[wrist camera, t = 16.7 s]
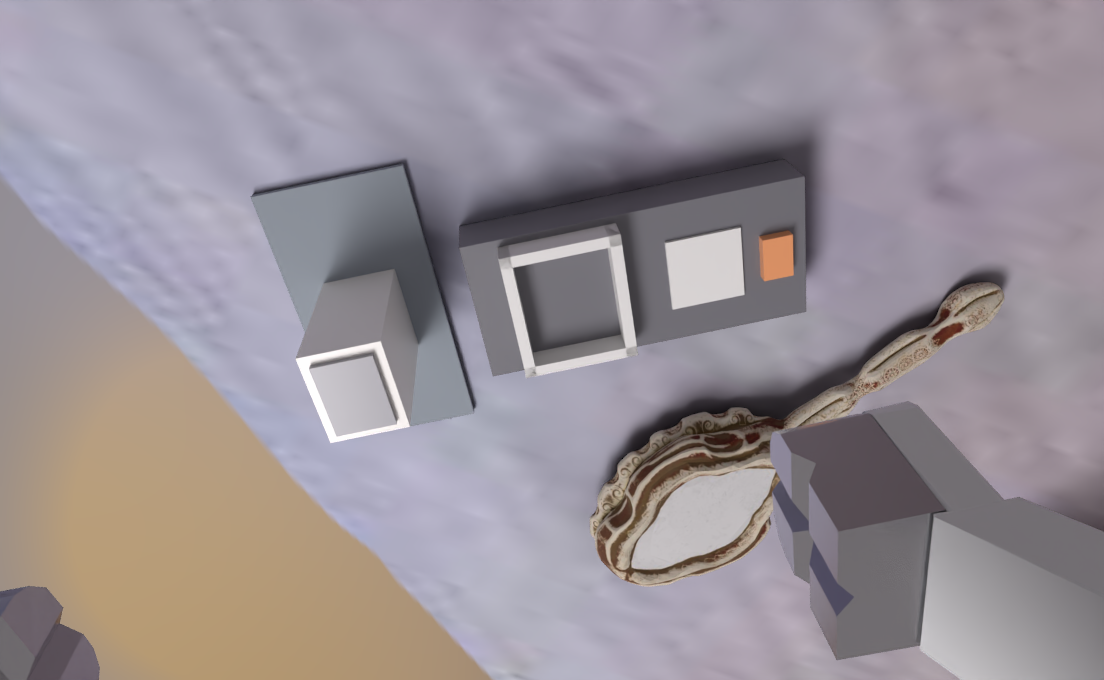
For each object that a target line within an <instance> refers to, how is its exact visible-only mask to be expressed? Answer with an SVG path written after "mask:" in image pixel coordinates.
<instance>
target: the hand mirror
mask: <svg viewBox="0 0 1104 680" xmlns="http://www.w3.org/2000/svg"><path fill="white" fill-rule="evenodd" d="M1003 302H1004V293H1003V291H1002V289H1001V288H1000V287H999V286H998V285H997V284H994V283H990V282H979V283H973V284H968V285H965V286H963V287H960V288H959V289H957V290H956V291H954V292H952V293H951V294H950V295H949V296H948V297H947V298H946V300H945V301H944V302H943V303H942V304H941V306H940V308H939V311H938V313H937V316H936V318H935V319H934V320H933V322H932V323H930V324H929V325H928V326H927V327H926V328H923V329H917V330H911V331H909V332H907V333H905V334H902V335H901V336H899V337H898V338H897V339H895V340H894V341H893V342H891V343H890V344H889V345H887V346H886V347H884V348H883V349H882V350H880V351H879V352H878V353H877V354H875V355H874V356H873V357H872V358H871V359H869V360H868V361H867V362H866V363H865V364H864V366H863V367H862V369H861V370H860V372H859V374H858V375H857V376H855V377H854V378H852V379H851V380H849V381H848V382H846V383H844V384H841V385H838V386H834V387H831V388H829V389H828V390H826V391H824V392H823V393H821V394H820V395H818V396H816V397H815V398H813V399H812V400H810V401H808V402H807V403H805V404H804V405H802V406H800V407H799V408H797V409H795V410H794V411H792V412H791V413H790V414H789V415H788V416H787V417H786V418H785V419H782V420H778V419H774V418H771V417H769V416H766V417H759V416H754V415H752V414H751V412H750V411H749V410H748V409H747V408H740V407H734V408H730V409H728V410H727V411H726V412H724V413H721V414H709V413H707V412H702V413H697V414H693V415H690V416H688V417H685V418H683V419H682V420H681V421H680V422H679V423H678V424H677V425H676V426H674V427H672V428H669V429H666V430H660V431H658V432H656V433H654V434H653V435H652V436H651V437H650V440H649V442H648V443H647V444H646V445H645V446H644V447H643V448H641V449H640V450H637V451H632V452H630V453H628V454H627V455H626V456H625V457H624V458H623V459H622V460H621V461H620V462H619V464H618V468H617V473H616V475H615V476H614V478H613V479H612V480H610V481H608V482H606V483H605V484H604V486H603V488H602V489H601V491H600V493H599V494H598V507H597V509H596V511H595V513H594V514H593V515H592V516H591V517H590V533H591V535H592V536H593V537H594V539H595V546H596V550H597V553H598V556H599V558H600V559H601V561H602V562H603V563H604V564H605V565H606V566H607V567H608V568H609V569H610V570H611V571H612V572H613V573H614V574H615V575H617V576H618V577H619V578H621V579H622V580H625V581H627V582H630V583H633V584H636V585H640V586H647V587H651V586H660V585H668V584H671V583H673V582H676V581H678V580H680V579H683V578H686V577H690V576H699V575H703V574H706V573H709V572H711V571H714V570H717V569H719V568H722V567H724V566H726V565H729V564H731V563H733V562H735V561H737V560H739V559H741V558H742V557H744V556H745V555H747V554H748V553H749V552H750V551H751V550H753V549H754V548H755V547H756V546H757V545H758V544H759V543H760V542H761V541H762V540H763V538H764V537H765V536H766V534H767V532H768V530H769V529H770V525H771V521H770V517H769V516H770V515H771V513H772V511H773V498H772V491H773V489H774V488H775V487H776V485H777V484H778V482H779V481H780V478H779V476H778V474H777V472H776V470H775V468H774V466H773V465H772V463H771V458H770V441H771V436H772V432H775V431H780V430H784V429H789V428H794V427H799V426H803V425H808V424H813V423H817V422H822V421H827V420H831V419H836V418H841V417H845V416H847V415H848V414H849V413H850V412H851V411H852V409H853V408H854V407H855V405H856V404H857V402H858V401H859V399H861V398H862V397H863V396H864V395H866V394H868V393H871V392H875V391H879V390H881V389H883V388H885V387H886V386H888V385H889V384H891V383H892V382H894V381H895V380H897V379H898V378H900V377H901V376H903V375H904V374H906V373H908V372H909V371H911V370H912V369H914V368H916V367H917V366H919V365H921V364H922V363H924V362H925V361H927V360H928V359H929V358H930V357H931V356H932V355H934V354H935V353H936V352H937V351H939V350H940V349H941V348H942V347H943V346H944V345H945V344H946V343H947V342H948V341H950V340H951V339H953V338H955V337H957V336H960V335H962V334H965V333H968V332H972V331H975V330H979V329H982V328H984V327H985V326H986V325H988V324H989V323H990V322H991V320H992V319H993V318H994V317H995V315H996V314H997V313H998V311H999V309H1000V307H1001V305H1002V303H1003Z"/></svg>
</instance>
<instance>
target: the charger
mask: <svg viewBox="0 0 1104 680" xmlns="http://www.w3.org/2000/svg"><path fill="white" fill-rule="evenodd" d="M418 346H419V345H418V342H417V338H416V335H415V332H414V329H413V326H412V323H411V319H410V316H409V313H408V310H407V307H406V304H405V301H404V297H403V294H402V291H401V288H400V285H399V282H398V278H397V275H396V272H395V269H391V270H386V271H381V272H376V273H371V274H367V275H362V276H357V277H352V278H347V279H342V280H338V281H333V282H328V283H323V286H322V289H321V291H320V294H319V297H318V299H317V302H316V305H315V308H314V310H313V313H312V316H311V318H310V321H309V324H308V327H307V329H306V332H305V335H304V337H303V340H302V343H301V346H300V348H299V351H298V354H297V356H296V361H297V363H298V366H299V368H300V370H301V373H302V375H303V378H304V380H305V382H306V385H307V387H308V390H309V392H310V394H311V397H312V399H313V402H314V404H315V406H316V409H317V411H318V414H319V416H320V418H321V421H322V423H323V425H324V428H325V430H326V433H327V435H328V437H329V440H330V442H331V443H333V442H338V441H343V440H348V439H353V438H357V437H362V436H367V435H372V434H377V433H382V432H386V431H391V430H396V429H401V428H406V427H410V422H411V413H412V403H413V394H414V384H415V375H416V365H417V355H418Z"/></svg>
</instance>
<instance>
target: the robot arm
mask: <svg viewBox="0 0 1104 680" xmlns="http://www.w3.org/2000/svg"><path fill="white" fill-rule="evenodd" d="M770 458H771V463H772V465H773V466H774V468H775V470H776V472H777V474H778V476H779V478H780V481H779V482H778V484H777V485H776V487H775V488H774V489H773V491H772V498H773V511H774V518H775V522H776V527H777V531H778V536H779V539H780V542H781V545H782V547H783V550H784V553H785V556H786V558H787V560H788V562H789V564H790V566H791V569H792V571H793V573H794V575H796V576H798V577H799V578H801V579H803V580H804V581H806V582H808V583H809V584H810V608H811V610H812V612H813V614H814V616H815V618H816V620H817V622H818V624H819V626H820V628H821V630H822V632H823V634H824V636H825V638H826V640H827V642H828V644H829V646H830V648H831V650H832V652H833V654H834V656H835V658H836V660H841V659H846V658H852V657H858V656H863V655H869V654H875V653H880V652H886V651H892V650H897V649H903V648H909V647H914V646H920V650H921V651H922V652H924V653H925V654H926V655H928V656H929V657H930V658H932V659H933V660H935V661H936V662H937V663H939V664H940V665H941V666H943V667H944V668H945V669H947V670H948V671H950V672H951V673H952V674H954V675H955V676H956V677H958V678H959V679H961V680H1104V532H1103V531H1101V530H1099V529H1096V528H1094V527H1091V526H1089V525H1086V524H1084V523H1081V522H1079V521H1077V520H1074V519H1072V518H1069V517H1067V516H1064V515H1062V514H1059V513H1057V512H1055V511H1052V510H1050V509H1047V508H1045V507H1042V506H1040V505H1037V504H1035V503H1032V502H1030V501H1028V500H1025V499H1023V498H1020V497H1017V498H1012V499H1007V500H1004V499H1003V498H1002V497H1001V496H1000V495H999V493H998V492H997V491H996V490H995V489H994V488H993V487H992V486H991V485H990V484H989V483H988V481H987V480H986V479H985V478H984V477H983V476H982V475H981V474H980V473H979V472H978V471H977V469H976V468H975V467H974V466H973V465H972V464H971V463H970V462H969V461H968V460H967V459H966V457H965V456H964V455H963V454H962V453H961V452H960V451H959V450H958V449H957V448H956V447H955V445H954V444H953V443H952V442H951V441H950V440H949V439H948V438H947V437H946V436H945V434H944V433H943V432H942V431H941V430H940V429H939V428H938V427H937V426H936V425H935V424H934V422H933V421H932V420H931V419H930V418H929V417H928V416H927V415H926V414H925V413H924V412H923V410H922V409H921V408H920V407H919V406H918V405H916V404H913V403H911V402H909V401H907V402H903V403H899V404H894V405H890V406H886V407H881V408H877V409H873V410H868V411H864V412H863V413H862V414H855V415H850V416H845V417H841V418H836V419H831V420H827V421H822V422H817V423H813V424H808V425H803V426H799V427H794V428H789V429H784V430H780V431H775V432H772V436H771V441H770ZM62 610H63V607H62V606H61V605H60V603H59V602H58V601H57V600H56V598H55V597H54V596H53V595H52V594H51V593H50V592H49V590H48V589H47V588H45V587H33V586H27V587H21V588H16V589H10V590H5V591H0V680H99V670H100V667H99V664H98V661H97V658H96V654H95V651H94V649H93V647H92V646H91V644H90V643H89V641H88V640H87V639H86V637H85V636H84V635H83V634H82V633H79V632H77V631H75V630H73V629H71V628H69V627H66V626H64V625H62V624H60V620H61V615H62Z"/></svg>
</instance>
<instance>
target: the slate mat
mask: <svg viewBox="0 0 1104 680" xmlns="http://www.w3.org/2000/svg"><path fill="white" fill-rule="evenodd" d="M251 199H252V202H253V204H254V207H255V209H256V212H257V214H258V217H259V219H260V222H261V224H262V227H263V229H264V232H265V234H266V237H267V239H268V242H269V244H270V247H271V249H272V252H273V254H274V257H275V259H276V262H277V264H278V267H279V269H280V272H281V274H282V276H283V279H284V281H285V284H286V286H287V289H288V291H289V294H290V296H291V299H292V301H293V304H294V306H295V309H296V311H297V314H298V316H299V319H300V321H301V324H302V326H303V329H304V331H305V332H306V329H307V327H308V324H309V321H310V318H311V316H312V313H313V310H314V308H315V305H316V302H317V299H318V297H319V294H320V291H321V289H322V286H323V283H328V282H333V281H338V280H342V279H347V278H352V277H357V276H362V275H367V274H371V273H376V272H381V271H386V270H391V269H395V272H396V275H397V278H398V282H399V285H400V288H401V291H402V294H403V297H404V301H405V304H406V307H407V310H408V313H409V316H410V319H411V323H412V326H413V329H414V332H415V335H416V338H417V342H418V345H419V346H418V355H417V365H416V375H415V384H414V394H413V403H412V413H411V422H410V426H414V425H419V424H424V423H429V422H434V421H439V420H443V419H448V418H453V417H458V416H463V415H468V414H473V413H474V408H473V404H472V401H471V397H470V394H469V390H468V387H467V383H466V380H465V376H464V373H463V369H462V366H461V362H460V359H459V355H458V352H457V348H456V345H455V341H454V338H453V335H452V331H451V328H450V324H449V321H448V317H447V314H446V310H445V307H444V303H443V300H442V296H441V293H440V289H439V286H438V282H437V279H436V275H435V272H434V268H433V265H432V261H431V258H430V254H429V251H428V247H427V244H426V241H425V237H424V234H423V230H422V227H421V223H420V220H419V216H418V213H417V209H416V206H415V202H414V199H413V195H412V192H411V188H410V185H409V181H408V178H407V174H406V171H405V167H404V164H398V165H393V166H388V167H383V168H379V169H374V170H369V171H364V172H359V173H355V174H350V175H345V176H340V177H335V178H331V179H326V180H321V181H316V182H311V183H307V184H302V185H297V186H292V187H287V188H283V189H278V190H273V191H268V192H263V193H259V194H254V195H252V196H251Z"/></svg>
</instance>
